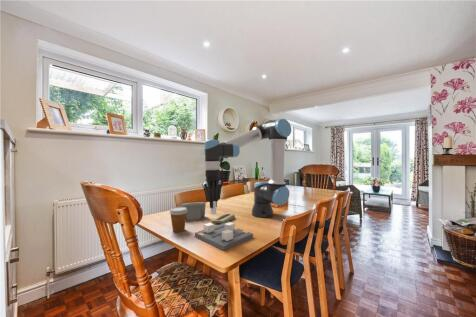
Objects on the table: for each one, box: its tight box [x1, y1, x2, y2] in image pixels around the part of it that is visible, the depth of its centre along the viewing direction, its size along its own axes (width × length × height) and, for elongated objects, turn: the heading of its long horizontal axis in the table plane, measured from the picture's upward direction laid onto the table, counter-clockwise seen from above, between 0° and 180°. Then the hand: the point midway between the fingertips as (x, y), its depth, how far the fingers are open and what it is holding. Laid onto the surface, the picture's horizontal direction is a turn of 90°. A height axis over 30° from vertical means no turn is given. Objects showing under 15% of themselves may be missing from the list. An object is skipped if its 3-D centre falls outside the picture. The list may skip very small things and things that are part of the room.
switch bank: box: [194, 223, 254, 251], centre depth 104 cm, size 20×22×2 cm
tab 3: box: [222, 230, 233, 241], centre depth 96 cm, size 4×4×4 cm
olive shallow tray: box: [211, 213, 236, 226], centre depth 129 cm, size 16×8×3 cm, turn 153°
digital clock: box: [180, 201, 206, 221], centre depth 134 cm, size 16×9×11 cm, turn 97°
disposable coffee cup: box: [169, 206, 187, 233], centre depth 113 cm, size 10×10×12 cm
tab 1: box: [203, 222, 215, 233], centre depth 105 cm, size 4×4×4 cm
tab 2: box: [224, 221, 235, 231], centre depth 106 cm, size 4×4×4 cm
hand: (213, 213), depth 107 cm, fingers closed
